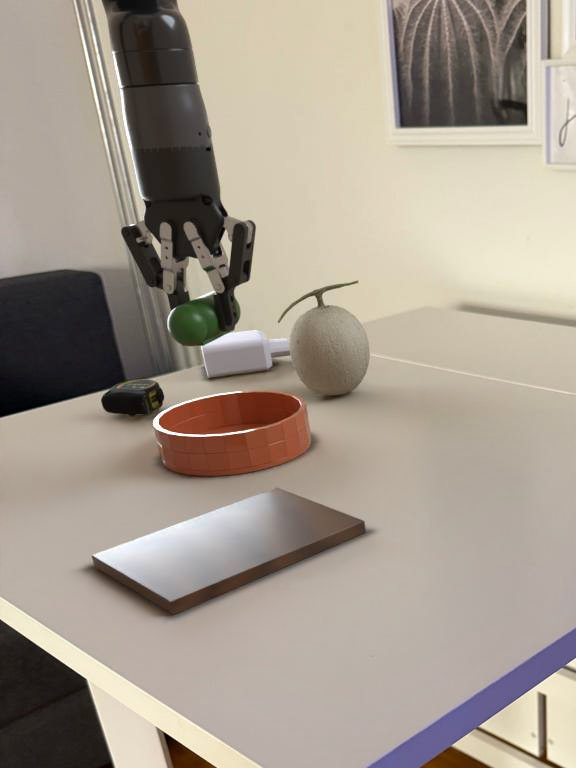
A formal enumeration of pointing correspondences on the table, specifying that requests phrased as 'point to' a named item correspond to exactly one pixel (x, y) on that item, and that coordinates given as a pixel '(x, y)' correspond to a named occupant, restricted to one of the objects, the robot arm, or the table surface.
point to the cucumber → (196, 321)
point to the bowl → (233, 432)
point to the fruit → (328, 346)
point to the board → (226, 548)
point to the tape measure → (133, 398)
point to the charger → (242, 353)
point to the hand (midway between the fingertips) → (207, 329)
